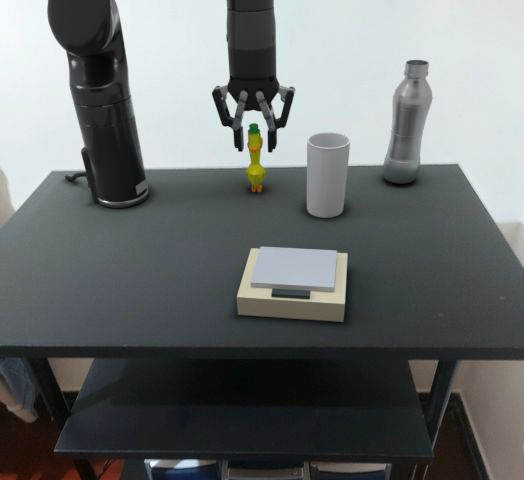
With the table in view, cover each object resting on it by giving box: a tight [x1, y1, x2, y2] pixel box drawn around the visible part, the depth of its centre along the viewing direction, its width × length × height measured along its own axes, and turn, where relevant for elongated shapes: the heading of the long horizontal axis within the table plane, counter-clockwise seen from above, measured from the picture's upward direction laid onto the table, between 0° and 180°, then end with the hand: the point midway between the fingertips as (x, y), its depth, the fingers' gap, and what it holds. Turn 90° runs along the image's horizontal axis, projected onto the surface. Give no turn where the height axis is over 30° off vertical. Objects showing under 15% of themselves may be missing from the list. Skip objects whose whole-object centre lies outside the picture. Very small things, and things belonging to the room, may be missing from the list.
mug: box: [306, 131, 351, 219], centre depth 90 cm, size 10×7×12 cm, turn 167°
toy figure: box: [245, 122, 267, 193], centre depth 96 cm, size 7×4×12 cm, turn 174°
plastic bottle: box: [382, 59, 434, 185], centre depth 94 cm, size 6×7×20 cm
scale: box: [236, 246, 348, 323], centre depth 75 cm, size 14×12×4 cm
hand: (255, 150), depth 95 cm, fingers open, 4 cm apart
